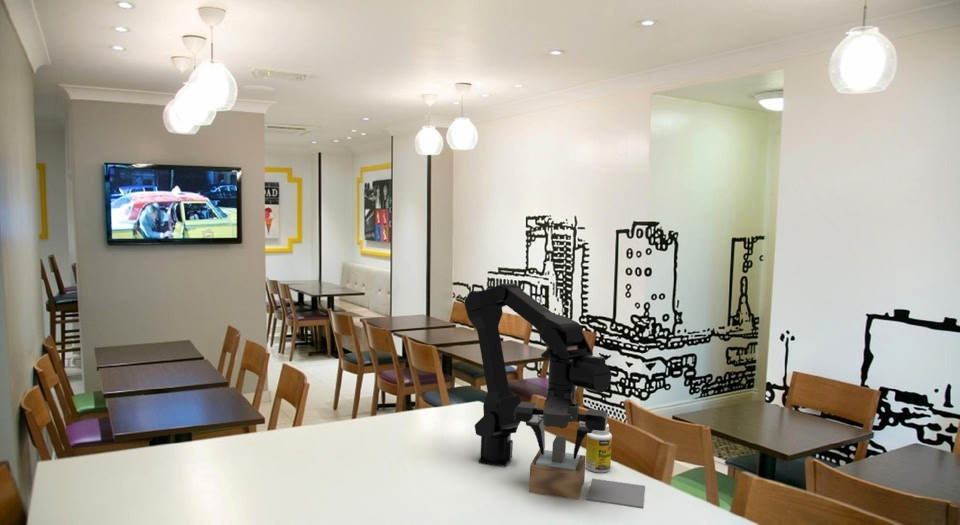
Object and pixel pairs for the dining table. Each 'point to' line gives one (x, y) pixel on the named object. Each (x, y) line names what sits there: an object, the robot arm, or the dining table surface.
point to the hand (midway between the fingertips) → (558, 456)
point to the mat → (616, 493)
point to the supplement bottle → (599, 450)
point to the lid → (558, 456)
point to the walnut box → (557, 479)
